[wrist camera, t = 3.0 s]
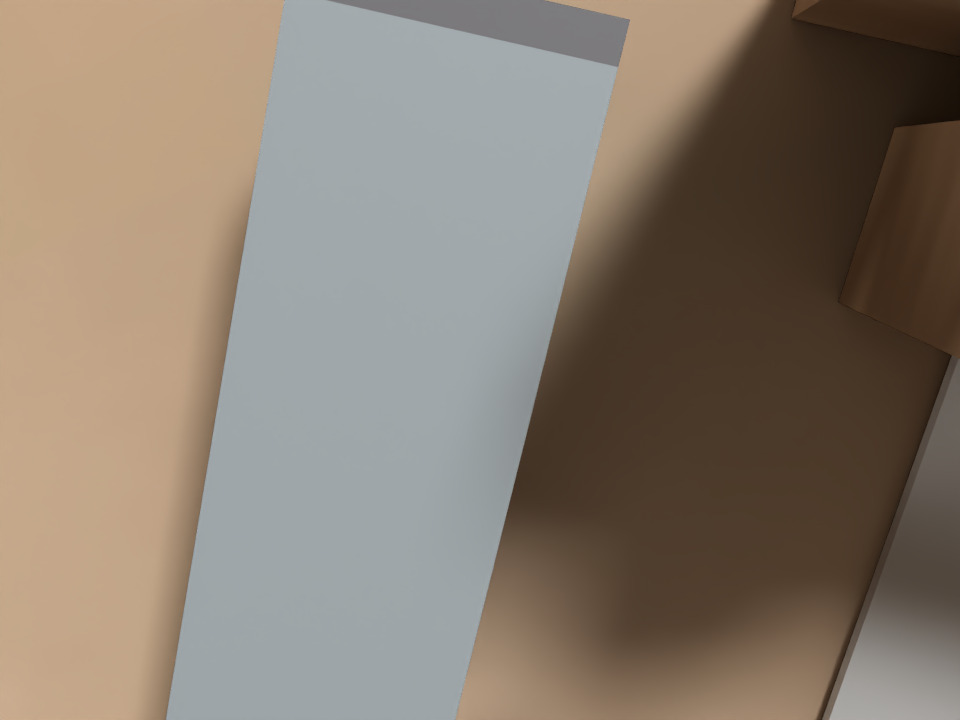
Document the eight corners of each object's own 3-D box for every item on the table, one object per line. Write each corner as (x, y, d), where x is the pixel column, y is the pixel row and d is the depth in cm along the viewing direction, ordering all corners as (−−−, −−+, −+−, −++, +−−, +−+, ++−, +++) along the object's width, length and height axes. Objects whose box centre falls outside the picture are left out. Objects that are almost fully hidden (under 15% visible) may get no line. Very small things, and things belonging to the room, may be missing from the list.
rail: (426, 785, 21) (380, 1022, 15) (242, 739, 21) (126, 957, 15) (602, 69, 17) (629, 20, 12) (378, 17, 17) (293, -57, 12)
